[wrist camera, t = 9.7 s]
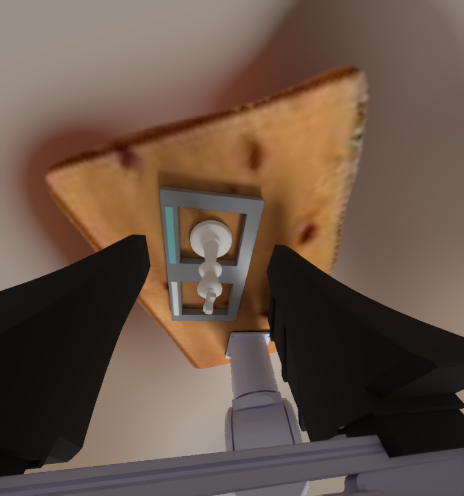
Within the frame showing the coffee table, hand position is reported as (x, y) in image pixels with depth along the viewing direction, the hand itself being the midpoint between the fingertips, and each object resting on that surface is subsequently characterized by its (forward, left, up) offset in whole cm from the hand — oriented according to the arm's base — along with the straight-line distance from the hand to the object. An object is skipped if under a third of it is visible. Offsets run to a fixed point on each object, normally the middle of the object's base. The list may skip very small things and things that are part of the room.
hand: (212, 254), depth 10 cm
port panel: (-9, 0, -9) cm, 13 cm away
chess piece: (-5, 0, -10) cm, 11 cm away
